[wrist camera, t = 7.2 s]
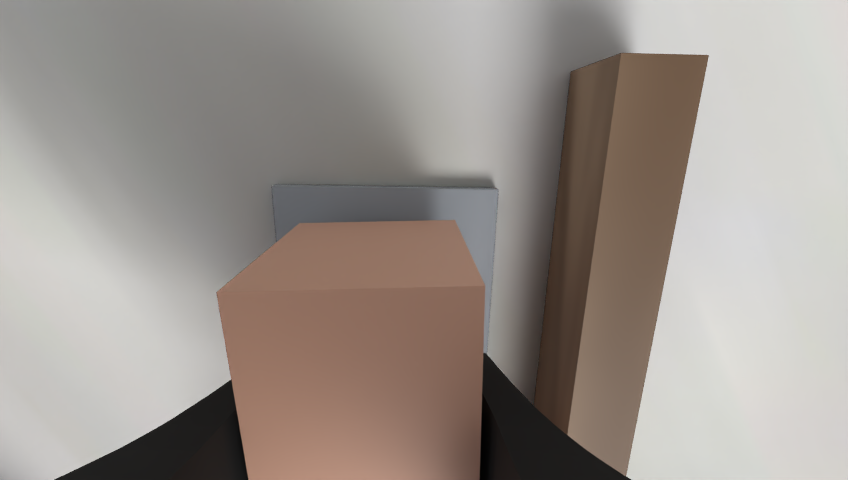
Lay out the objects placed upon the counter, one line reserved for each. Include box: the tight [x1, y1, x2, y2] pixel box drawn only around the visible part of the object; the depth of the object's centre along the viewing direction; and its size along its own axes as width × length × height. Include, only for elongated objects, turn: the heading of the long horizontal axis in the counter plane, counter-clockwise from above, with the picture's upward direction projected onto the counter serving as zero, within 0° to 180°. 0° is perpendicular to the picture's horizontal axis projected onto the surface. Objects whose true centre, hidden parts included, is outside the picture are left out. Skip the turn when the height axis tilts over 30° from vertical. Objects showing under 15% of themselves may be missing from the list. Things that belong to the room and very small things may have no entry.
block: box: [216, 220, 485, 480], centre depth 10 cm, size 8×4×5 cm, turn 1°
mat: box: [272, 185, 498, 354], centre depth 14 cm, size 7×10×1 cm
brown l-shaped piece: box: [534, 53, 709, 476], centre depth 12 cm, size 12×16×3 cm
